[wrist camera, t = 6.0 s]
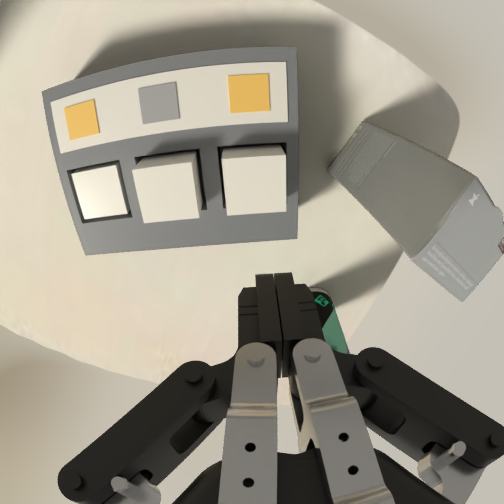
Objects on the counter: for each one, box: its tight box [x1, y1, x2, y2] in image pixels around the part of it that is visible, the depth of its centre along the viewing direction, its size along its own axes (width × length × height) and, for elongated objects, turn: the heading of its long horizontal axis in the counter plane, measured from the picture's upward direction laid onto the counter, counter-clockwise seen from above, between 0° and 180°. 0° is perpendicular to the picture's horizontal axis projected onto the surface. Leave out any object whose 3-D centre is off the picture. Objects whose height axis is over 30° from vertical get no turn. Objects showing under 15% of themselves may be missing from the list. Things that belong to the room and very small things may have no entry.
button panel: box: [42, 46, 299, 255], centre depth 24 cm, size 20×16×5 cm
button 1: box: [222, 145, 286, 216], centre depth 23 cm, size 4×4×3 cm
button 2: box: [71, 160, 130, 219], centre depth 24 cm, size 4×4×3 cm
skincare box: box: [327, 121, 504, 302], centre depth 22 cm, size 8×7×16 cm
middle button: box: [132, 151, 203, 223], centre depth 23 cm, size 4×4×3 cm
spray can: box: [309, 288, 367, 428], centre depth 30 cm, size 6×6×20 cm
